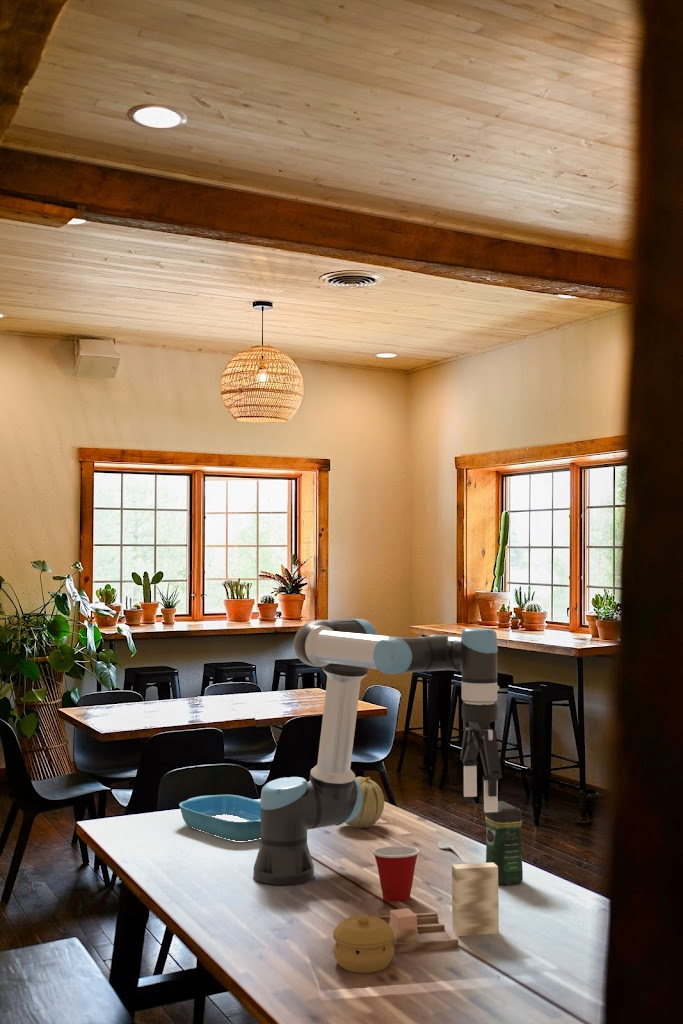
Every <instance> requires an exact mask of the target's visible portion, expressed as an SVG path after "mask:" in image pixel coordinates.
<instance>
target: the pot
mask: <svg viewBox="0 0 683 1024" xmlns="http://www.w3.org/2000/svg"><path fill="white" fill-rule="evenodd" d="M332 934H333V935H332V939H333V940H334V941H335V944H334V945H333V948H332V953H333V956H334V958H335V960H336V961H335V962H336V963H337V964H338V965H339V966H340V967H341V968H342V969H343V970H344V971H348V972H352V973H358V974H372V973H377V972H380V971H383V970H385V969H386V968H387V967H388V966H389V965H390V963H391V961H392V959H393V957H394V955H395V952H394V947H393V945H392V943H391V941H392V940H393V939H394V932H393V930H392V928H391V927H390V925H389V924H388V923H387V922H385V921H384V920H382V919H380V918H377V916H371V915H364V914H363V915H355V916H349V917H346V918H344V919H342V920H341V921H340V922H339V923H338V924H337V925H336V926H335V927H334V930H333V933H332Z"/></svg>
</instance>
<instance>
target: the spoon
mask: <svg viewBox="0 0 683 1024" xmlns="http://www.w3.org/2000/svg"><path fill="white" fill-rule="evenodd" d="M437 847H438V848H439V849H441V850H452V851H454V853H455V854H456V855H457V857H458V858H459V859H460V860H461V861H462V862H464V863H471V861H470V859H468V858H467V857H466V856H464V855H463V854H462V853H460V852H459V851H458V850H457V849H456V848H455V846H454V845H452V844H451V843H449V841H448V842H447V841H445V840H439V841H438V843H437Z"/></svg>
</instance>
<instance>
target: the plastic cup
mask: <svg viewBox="0 0 683 1024" xmlns="http://www.w3.org/2000/svg"><path fill="white" fill-rule="evenodd" d="M419 853H420V849H419V848H417V847H413V846H403V845H391V846H383V847H377V848H375V849H373V850H372V855H374V859H375V862H376V866H377V872H378V877H379V883H380V887H381V894H382V898H383V899H384V900H385V901H388V902H393V903H398V902H399V903H400V902H401V903H402V902H407V901H409V900H410V899H411V895H412V894H411V893H412V888H413V883H414V876H415V869H416V863H417V860H418V859H417V858H418V855H419Z"/></svg>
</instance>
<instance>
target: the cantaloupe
mask: <svg viewBox="0 0 683 1024" xmlns="http://www.w3.org/2000/svg"><path fill="white" fill-rule="evenodd" d="M355 779H356V780H357V781H358V783H359V784H360V787H361V789H360V792H362V803H361V808H360V810H359V813H358V814H357V816H356V817H355V818H354V819H353V820H351V821H349V822H346V823H345V824H346V825H348V826H349V827H351V828H356V829H365V828H369V827H371V826H373V825H375V824H376V823H377V822H378V821H379V819H380V818H381V816H382V815H383V812H384V809H385V795H384V793H383V791H382V789H381V787H380V786H379V785H378V783H376V782H375V781H374V780H372V779H371V777H370V776H367V777H363V776H355Z"/></svg>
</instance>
